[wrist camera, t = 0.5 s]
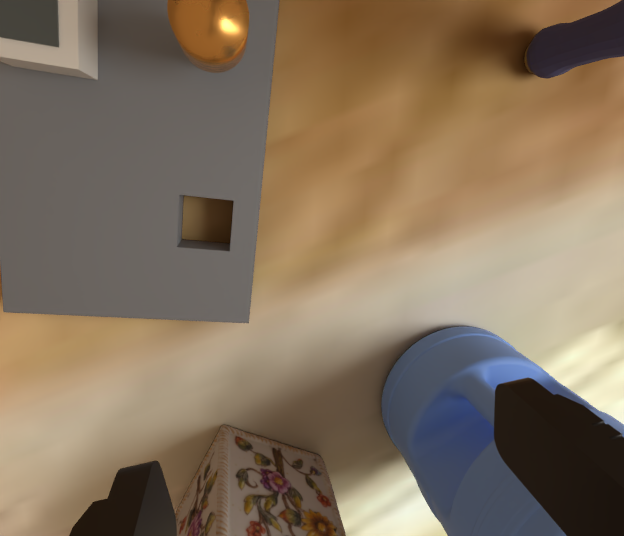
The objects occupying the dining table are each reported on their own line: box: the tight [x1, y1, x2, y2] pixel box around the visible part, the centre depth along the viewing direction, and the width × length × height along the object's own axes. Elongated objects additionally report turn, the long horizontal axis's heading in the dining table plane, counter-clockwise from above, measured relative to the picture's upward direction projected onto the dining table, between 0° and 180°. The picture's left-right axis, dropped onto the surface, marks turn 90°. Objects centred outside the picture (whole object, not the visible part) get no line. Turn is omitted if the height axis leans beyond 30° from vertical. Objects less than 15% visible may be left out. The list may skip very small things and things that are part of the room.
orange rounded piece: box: [167, 0, 249, 73], centre depth 24 cm, size 4×4×8 cm
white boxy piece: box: [0, 0, 98, 80], centre depth 24 cm, size 6×5×4 cm
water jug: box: [381, 326, 624, 536], centre depth 30 cm, size 16×16×28 cm
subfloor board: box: [0, 0, 279, 323], centre depth 29 cm, size 28×18×3 cm, turn 172°
